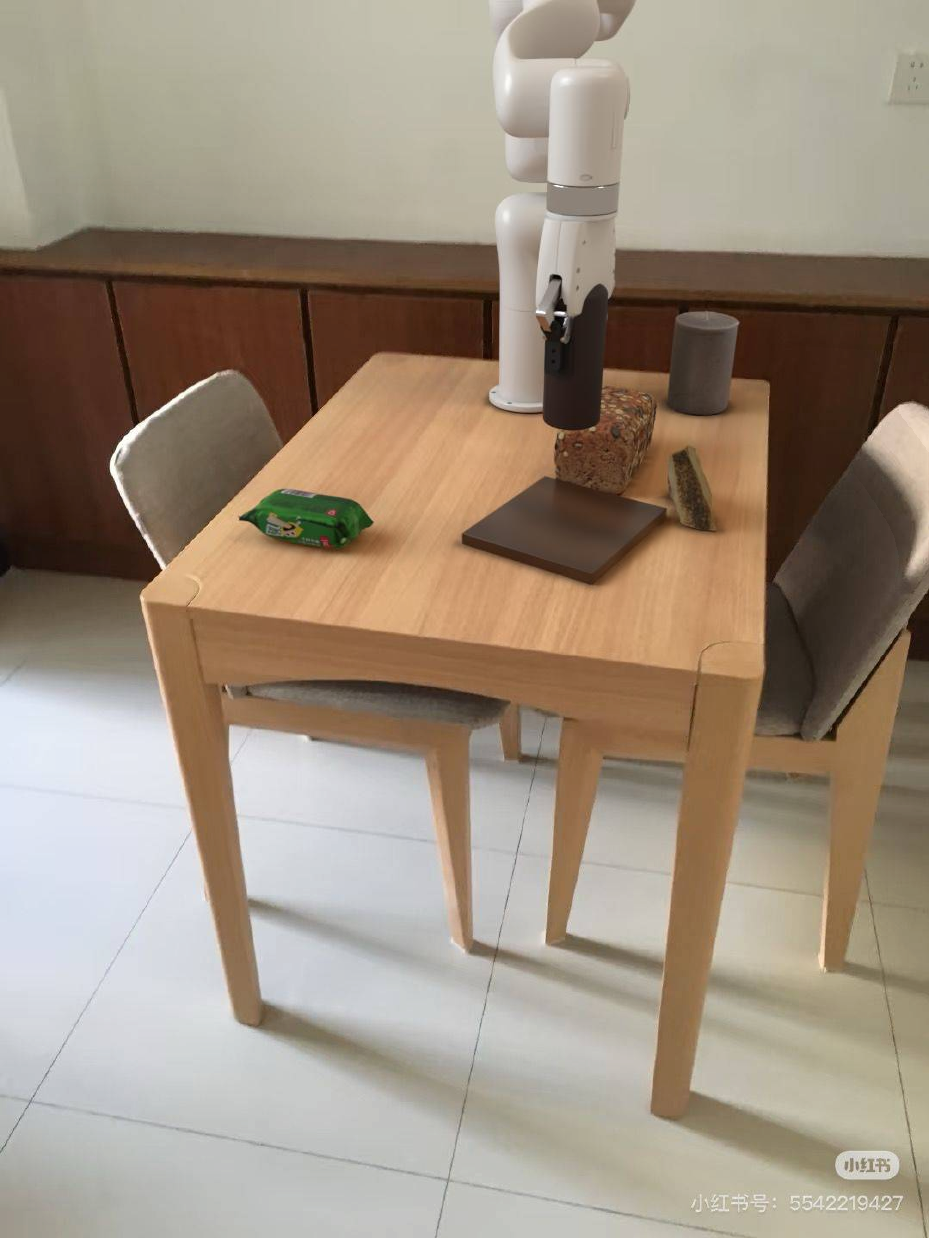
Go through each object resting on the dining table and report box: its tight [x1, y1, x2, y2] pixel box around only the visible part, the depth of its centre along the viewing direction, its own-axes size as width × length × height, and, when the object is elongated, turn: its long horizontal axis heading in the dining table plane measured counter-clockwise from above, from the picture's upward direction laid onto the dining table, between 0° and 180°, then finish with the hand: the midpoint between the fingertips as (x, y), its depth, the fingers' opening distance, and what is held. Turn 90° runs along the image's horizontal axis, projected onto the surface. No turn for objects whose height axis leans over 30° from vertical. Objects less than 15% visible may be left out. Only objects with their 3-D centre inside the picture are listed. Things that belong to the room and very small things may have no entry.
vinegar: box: [542, 284, 609, 431], centre depth 115 cm, size 7×7×20 cm
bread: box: [553, 385, 658, 495], centre depth 142 cm, size 19×11×10 cm, turn 159°
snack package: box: [237, 488, 375, 550], centre depth 126 cm, size 7×16×5 cm, turn 70°
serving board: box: [461, 475, 668, 585], centre depth 128 cm, size 20×18×2 cm
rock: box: [667, 444, 718, 532], centre depth 131 cm, size 11×9×10 cm
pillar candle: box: [666, 310, 740, 416], centre depth 161 cm, size 10×10×15 cm
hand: (574, 365), depth 117 cm, fingers closed on vinegar, 6 cm apart
